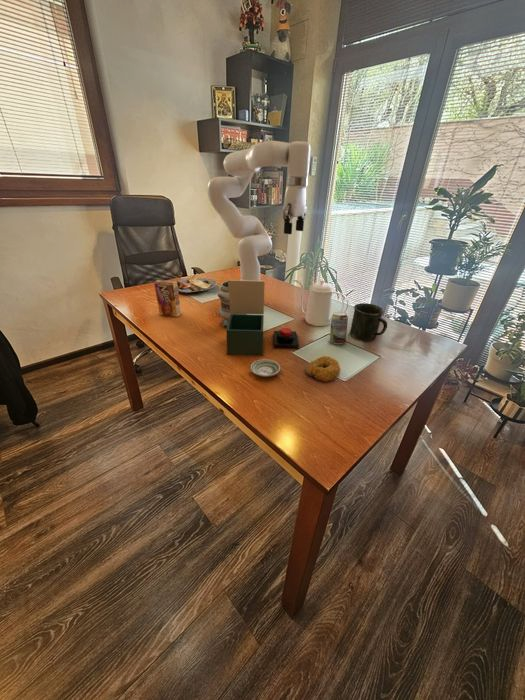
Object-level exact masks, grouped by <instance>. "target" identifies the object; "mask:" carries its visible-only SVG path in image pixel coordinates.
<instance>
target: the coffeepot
mask: <svg viewBox="0 0 525 700" xmlns="http://www.w3.org/2000/svg"><path fill="white" fill-rule="evenodd" d="M293 282H296V283H298V284H299V285H300V310H301V312H302V313H303V315H304V320H305V322H306V323H307V324H308V325H310V326H313V327H325V326H327V325H329V324H330V323H331V310H332V309H331V308H332V296H333V294H336V295H338V296H339V298H340V299H341V301H342V308H341V311H340V312H343V311H344V312H346V311H347V310H348V307H349V299H348V297H347V296H346V295H345V294H344V293H342V292H340V291H334V290H333V287H332V285H331V284H329V283H328V282H326V280H325V279H320V280H319V281H318V282H317V281H316V282H313V283H312V284H311V286H310V287H309V294H308V298H307V299H308V300H307V305H306V310H304V301H303V300H304V284H303V283H302V281H300V280H298V279H294V280H293ZM343 297H344V298H343ZM344 299H345V300H344ZM345 301H346V308H345V310H344V307H345Z"/></svg>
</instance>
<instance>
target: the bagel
mask: <svg viewBox="0 0 525 700" xmlns="http://www.w3.org/2000/svg"><path fill="white" fill-rule="evenodd" d="M341 369H342V368H341V365H340V363H339V361H338V360H336V359H335V358H334V357H331V356H327V355H323V356H320V357H318V358H316V359H314V360H311V362H309V363H308V365H307V366H306V367H305V372H306V374H307V375H308V376H311V377H314V379H316V380H318V381H321V382H326V383H327V382H331V381H333V380H335V379H337V378H338V376H339V375H340V374H341V373H340V372H341Z"/></svg>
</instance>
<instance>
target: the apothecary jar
mask: <svg viewBox="0 0 525 700" xmlns="http://www.w3.org/2000/svg"><path fill="white" fill-rule="evenodd" d="M216 293H217V297H218V298H219V299H220V307H219V309H218V313H217V314H218V316H219V317H220V318H221V319H222V322H221V326H222V328H226V329H227V326H228V322H229V318H230V315H231V313H230V301H229V288H228V280H226V281H222V283H221V284H220V288H218V290H217V292H216ZM245 315H248V314H245Z"/></svg>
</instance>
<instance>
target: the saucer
mask: <svg viewBox="0 0 525 700" xmlns="http://www.w3.org/2000/svg"><path fill="white" fill-rule="evenodd" d="M250 371H251V372H252V373H253V374H254V375H256V376H258V377H261V378H272V377H274V376H276V375H278V374H279V373H280V371H281V365H280V364H279V363H278V362H277V361H275V360H273V359H268V358H266V359H265V358H262V359H258V360H257V359H256V360H254V361H253V362H252V363H251V364H250Z"/></svg>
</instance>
